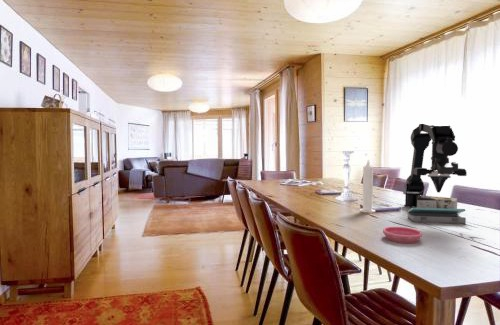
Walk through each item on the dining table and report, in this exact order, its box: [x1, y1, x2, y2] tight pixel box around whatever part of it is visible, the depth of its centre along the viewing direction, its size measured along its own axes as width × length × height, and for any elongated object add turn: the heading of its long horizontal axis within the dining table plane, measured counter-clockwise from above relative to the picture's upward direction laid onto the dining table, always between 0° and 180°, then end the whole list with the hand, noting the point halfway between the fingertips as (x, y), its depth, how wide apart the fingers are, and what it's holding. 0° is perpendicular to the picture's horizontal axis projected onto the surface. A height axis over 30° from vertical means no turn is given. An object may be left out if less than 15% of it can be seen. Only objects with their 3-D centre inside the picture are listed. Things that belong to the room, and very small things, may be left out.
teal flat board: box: [407, 211, 467, 225], centre depth 142 cm, size 9×20×2 cm, turn 80°
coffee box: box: [416, 194, 458, 209], centre depth 163 cm, size 9×6×16 cm
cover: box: [407, 207, 466, 215], centre depth 143 cm, size 8×20×1 cm, turn 80°
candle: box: [359, 159, 376, 214], centre depth 161 cm, size 7×7×25 cm
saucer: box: [382, 226, 423, 244], centre depth 116 cm, size 12×12×3 cm
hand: (438, 192), depth 140 cm, fingers closed
